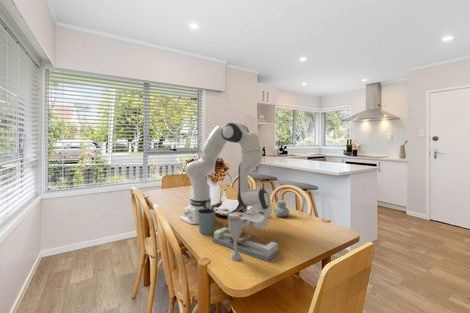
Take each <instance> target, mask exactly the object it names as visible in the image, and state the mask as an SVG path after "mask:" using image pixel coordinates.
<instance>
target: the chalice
mask: <svg viewBox="0 0 470 313" xmlns="http://www.w3.org/2000/svg"><path fill="white" fill-rule="evenodd" d="M226 219H227V221H228V222H227V223H228V224H227V225H228V227H227V228H228V233H230V235H231V237H232V238H233V239H234V249H233V251H232V252H231V254H230V256H229V259H230V261H235V262H237V261H240V260H242V257H241V253H240V252H239V251H237V248H238V247H237V239H238V238H239V237H240V235H241V232H242V229H243V230H244V227H243V219H244V218H243V217H241V216H230V217H228V216H227V218H226Z"/></svg>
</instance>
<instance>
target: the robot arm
mask: <svg viewBox="0 0 470 313" xmlns="http://www.w3.org/2000/svg"><path fill="white" fill-rule="evenodd" d="M228 142H229V143H235V144H237V143H238V144H239V145H240V146H241V148H240V149H241V153H242V155H241V156H242V158H241V162H240V163H239V165H238V180H237V181H238V185H237V186H238V191H237V197H236V199H237V202H238V204H239V205H240V206H241V207H242V208H247V207H249V206H253V208H251V209H248V210H246V211H245V212H241V211H233V212H231V213H228V215H227V218H228V217H230V216H235V214H242V215H243V218H244V219H243V228H246V227H251V228H253V229H254V228H255V229H257V230H262V229H264V228H265V227H267V226H268V225H267V224H268V219H269V217H270V216H271V214H272V212H273V208H272V206H271V204H270V202H271V201H270V196H269V195H270V194H269V193H268V192H267V191H266V189H264V188H251V189H249V188H248V181H249V180H248V179H249V178H248V175H249V173H250V172H251V171H252V170H254V169H255V168H257V167H258V166H259V165H260V164H261V163H262V161H263V152H262V146H261V142H260V140H259V136H258V135H257V133H255V132H252V131H251V132H250V131H249V128H248V127H247V126H246V125H244V124H241V123H235V122H228V123H225V124H224V125H217V126H215V128H214V129H213V130H212V131H211V132H210V133H209V136H208V137H207V139H206V140H205V142H204V144H203V146H202V148H201V156H200V158H199V159H198V160H192V161H191V162H190V163H187V165H186V166H185V169H184V171H185V174H186V176H187V178H189V180H190V183H191V188H192V190H191V191H192V198H190V199H189V202H190V203H189V204H188V206H186V207H185V208H184V209H183V213H182V215H180V216H179V219H180V220H182V221H183V222H185V223H186V224H187V223H188V224H189V225H199V221H198V213H197V211H198V210H200V209H205V208H211V204H212V203H211V202H212V200H211V199H212V198H211V186H210V185H209V184H208V181H207V176H210V175H211V174H213V172H215V169H216V162H217V159H218V158H219V156H220V154H221V152H222V151H223V149H224V147H225V146H226V143H228ZM211 209H212V208H211Z"/></svg>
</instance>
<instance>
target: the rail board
mask: <svg viewBox="0 0 470 313" xmlns="http://www.w3.org/2000/svg"><path fill="white" fill-rule="evenodd" d="M229 233H230V232H229V229H228V227H225V226H223V227H222V228H219V229H217V230H214V232H213V237H212V243H214V244H218V245H220V246H223V247H225V248H228V249H231V250H234V241H233V240H230V239H227V238H226V235H227V234H229ZM237 247H238V248H237V252H239V253H243V254H245V255H248V256H251V257H254V258H256V259H259V260H261V261H264V262H267V263H268V262H270V261H271V260H272V259H273V258H274V257H276V255H278V254H279V248H278V242H275V241H270V242H269V243H268V244H265V243H262V242H258V241H256V240H252V239H249V240H247V241H245V242H244V243H239V242H237Z"/></svg>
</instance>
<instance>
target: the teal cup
mask: <svg viewBox="0 0 470 313" xmlns="http://www.w3.org/2000/svg"><path fill="white" fill-rule="evenodd" d="M197 213H198V221H199V224H198V232H199V233H200V234H202V235H211V234H214V232H215V231H216V230H215V228H216V225H215V223H216V220H215V219H216V209H214V208H205V209H200V210H198V211H197Z"/></svg>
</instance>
